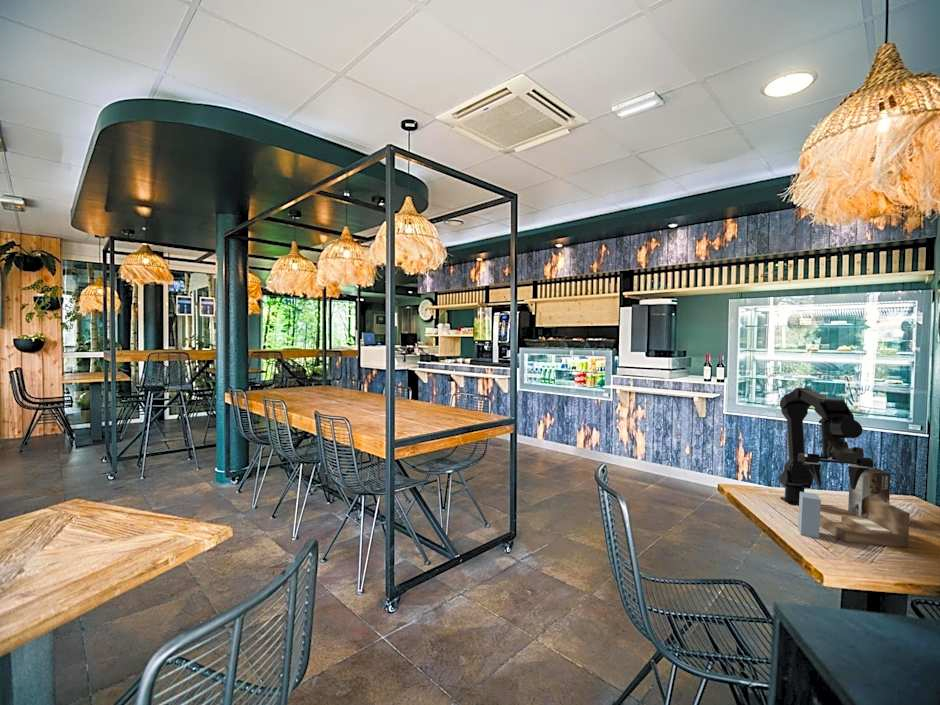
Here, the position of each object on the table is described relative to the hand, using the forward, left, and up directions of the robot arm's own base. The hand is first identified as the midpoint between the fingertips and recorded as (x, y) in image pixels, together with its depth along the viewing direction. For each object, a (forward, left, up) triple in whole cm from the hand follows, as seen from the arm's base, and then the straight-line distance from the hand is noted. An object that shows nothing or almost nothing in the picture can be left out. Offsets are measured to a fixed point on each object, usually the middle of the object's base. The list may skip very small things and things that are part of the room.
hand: (836, 487), depth 142 cm
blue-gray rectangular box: (+3, -9, -14) cm, 17 cm away
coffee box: (-17, +22, -14) cm, 31 cm away
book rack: (+1, +7, -14) cm, 16 cm away
